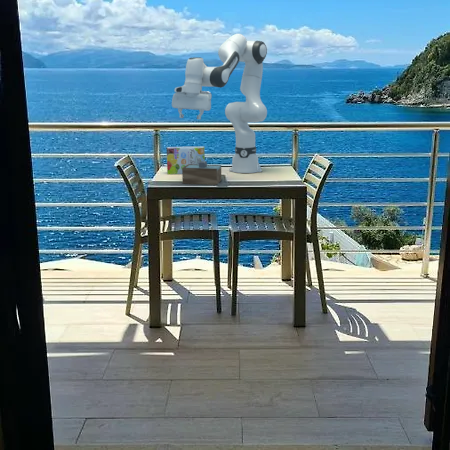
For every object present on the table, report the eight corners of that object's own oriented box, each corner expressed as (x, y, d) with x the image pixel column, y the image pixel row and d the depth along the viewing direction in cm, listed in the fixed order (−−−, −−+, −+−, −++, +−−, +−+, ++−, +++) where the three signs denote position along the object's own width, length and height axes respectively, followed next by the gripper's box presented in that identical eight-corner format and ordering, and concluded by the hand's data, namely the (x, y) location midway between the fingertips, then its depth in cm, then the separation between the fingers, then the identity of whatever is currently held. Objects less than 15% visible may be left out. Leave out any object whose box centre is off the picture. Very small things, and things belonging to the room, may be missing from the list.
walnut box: (188, 179, 311) (188, 164, 309) (221, 180, 308) (221, 165, 306) (182, 183, 300) (182, 167, 298) (216, 184, 297) (216, 168, 295)
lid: (189, 166, 308) (189, 160, 307) (220, 167, 305) (220, 161, 304) (184, 169, 299) (184, 163, 298) (216, 170, 296) (216, 163, 295)
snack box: (204, 172, 333) (204, 146, 329) (204, 174, 327) (204, 147, 323) (167, 172, 332) (166, 146, 328) (167, 174, 327) (166, 147, 323)
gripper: (214, 92, 288) (211, 120, 289) (177, 90, 295) (174, 117, 296) (209, 90, 282) (206, 119, 283) (171, 88, 289) (169, 116, 291)
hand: (190, 118), depth 290 cm, fingers open, 8 cm apart
